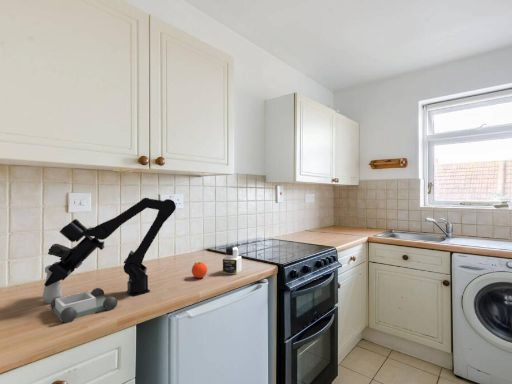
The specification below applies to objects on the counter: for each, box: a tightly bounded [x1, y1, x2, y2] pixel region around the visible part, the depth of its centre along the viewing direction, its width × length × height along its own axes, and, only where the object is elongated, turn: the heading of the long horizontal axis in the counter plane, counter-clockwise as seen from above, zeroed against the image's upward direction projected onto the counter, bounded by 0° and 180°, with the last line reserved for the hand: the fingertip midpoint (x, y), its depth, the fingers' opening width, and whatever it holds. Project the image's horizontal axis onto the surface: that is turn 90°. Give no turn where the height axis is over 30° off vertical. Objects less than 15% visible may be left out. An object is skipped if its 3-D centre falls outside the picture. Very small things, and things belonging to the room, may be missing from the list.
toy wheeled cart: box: [49, 287, 118, 323], centre depth 95 cm, size 16×14×4 cm
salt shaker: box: [42, 264, 63, 305], centre depth 102 cm, size 6×6×13 cm
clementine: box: [191, 261, 208, 279], centre depth 129 cm, size 8×7×7 cm
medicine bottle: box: [222, 246, 243, 275], centre depth 137 cm, size 7×7×12 cm
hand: (47, 283), depth 101 cm, fingers open, 4 cm apart
